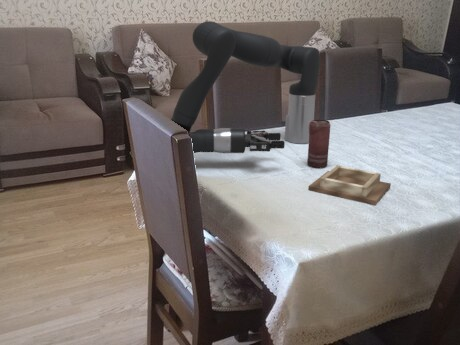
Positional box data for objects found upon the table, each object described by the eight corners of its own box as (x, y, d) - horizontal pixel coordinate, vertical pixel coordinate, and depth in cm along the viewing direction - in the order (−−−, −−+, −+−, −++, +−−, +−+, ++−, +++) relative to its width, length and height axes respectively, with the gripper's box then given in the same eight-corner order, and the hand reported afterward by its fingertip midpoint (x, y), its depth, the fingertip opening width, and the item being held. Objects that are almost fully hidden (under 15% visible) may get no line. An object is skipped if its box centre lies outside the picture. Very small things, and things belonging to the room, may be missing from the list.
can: (304, 162, 144) (307, 119, 139) (324, 161, 144) (327, 118, 139) (309, 168, 138) (312, 124, 133) (329, 168, 138) (333, 123, 134)
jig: (308, 190, 122) (309, 177, 121) (327, 174, 133) (328, 162, 132) (375, 205, 113) (377, 191, 112) (390, 187, 124) (391, 174, 123)
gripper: (229, 135, 129) (286, 134, 130) (228, 122, 142) (279, 122, 143) (229, 159, 132) (285, 159, 132) (228, 145, 145) (278, 145, 146)
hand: (282, 140), depth 138 cm, fingers open, 8 cm apart
